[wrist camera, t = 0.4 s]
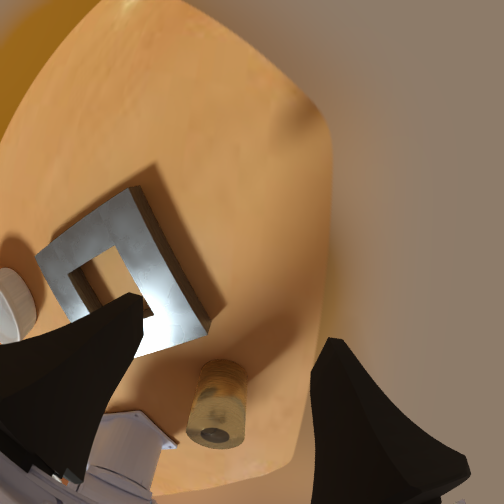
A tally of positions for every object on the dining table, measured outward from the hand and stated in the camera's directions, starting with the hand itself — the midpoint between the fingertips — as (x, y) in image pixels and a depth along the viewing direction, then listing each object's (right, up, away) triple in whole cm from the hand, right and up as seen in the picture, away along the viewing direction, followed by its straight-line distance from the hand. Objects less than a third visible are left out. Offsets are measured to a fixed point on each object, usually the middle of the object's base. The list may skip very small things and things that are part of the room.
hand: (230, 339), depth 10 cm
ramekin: (-27, -2, +12) cm, 29 cm away
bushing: (-2, -8, +14) cm, 16 cm away
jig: (-10, +1, +11) cm, 15 cm away
